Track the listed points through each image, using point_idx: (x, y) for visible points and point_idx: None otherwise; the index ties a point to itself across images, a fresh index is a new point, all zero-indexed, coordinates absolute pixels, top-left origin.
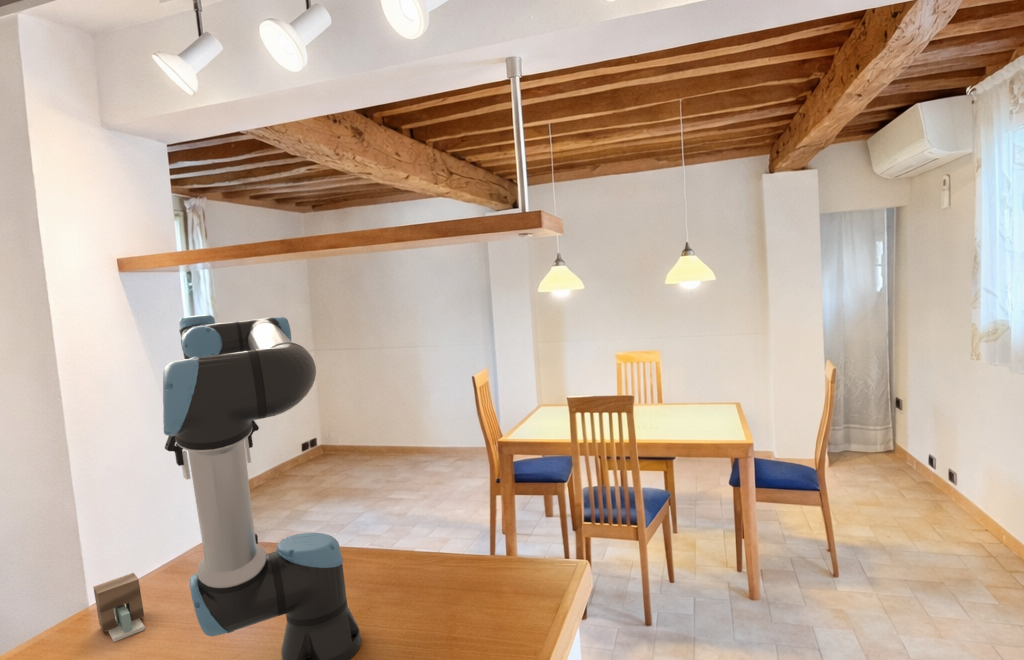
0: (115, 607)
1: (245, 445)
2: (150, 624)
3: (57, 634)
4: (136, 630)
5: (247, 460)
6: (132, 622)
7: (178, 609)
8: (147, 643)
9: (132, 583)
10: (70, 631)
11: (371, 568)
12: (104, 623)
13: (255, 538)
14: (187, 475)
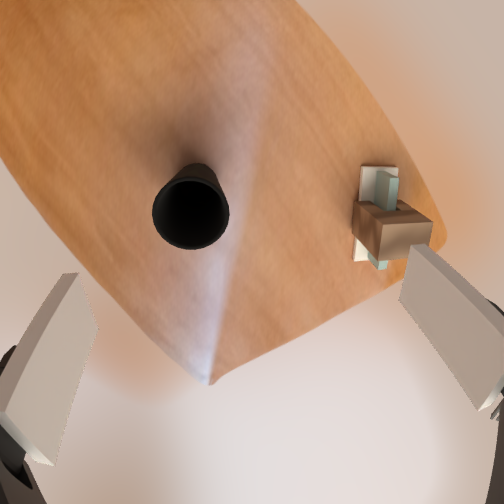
0: None
1: (33, 355)
2: (351, 176)
3: None
4: (372, 167)
5: (74, 285)
6: (370, 195)
7: (309, 190)
8: (368, 119)
9: (389, 223)
10: None
11: (21, 85)
12: (404, 204)
13: (160, 190)
14: (432, 254)
